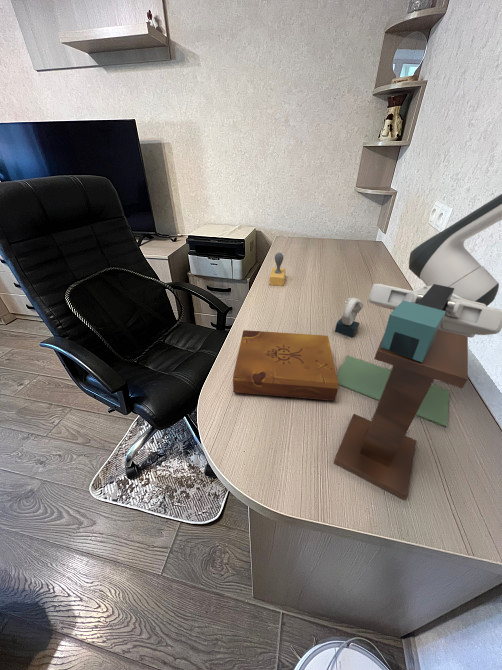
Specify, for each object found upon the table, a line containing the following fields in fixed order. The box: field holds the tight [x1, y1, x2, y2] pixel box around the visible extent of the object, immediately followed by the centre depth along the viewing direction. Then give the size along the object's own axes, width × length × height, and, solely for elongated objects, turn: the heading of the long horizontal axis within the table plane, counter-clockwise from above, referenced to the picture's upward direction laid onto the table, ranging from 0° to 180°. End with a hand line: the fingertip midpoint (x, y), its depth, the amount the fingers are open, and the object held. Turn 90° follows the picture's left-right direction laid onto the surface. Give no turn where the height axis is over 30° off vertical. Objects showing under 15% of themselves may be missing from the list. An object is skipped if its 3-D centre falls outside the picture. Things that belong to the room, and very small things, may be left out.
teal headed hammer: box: [381, 284, 454, 362], centre depth 40 cm, size 5×19×5 cm, turn 138°
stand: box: [333, 330, 469, 501], centre depth 45 cm, size 12×12×26 cm
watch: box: [334, 297, 364, 339], centre depth 83 cm, size 6×8×11 cm
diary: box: [232, 329, 339, 402], centre depth 69 cm, size 23×19×6 cm
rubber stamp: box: [269, 252, 287, 287], centre depth 114 cm, size 10×6×12 cm, turn 171°
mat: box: [336, 355, 450, 428], centre depth 66 cm, size 24×12×1 cm, turn 57°
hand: (434, 303), depth 43 cm, fingers closed on teal headed hammer, 3 cm apart
